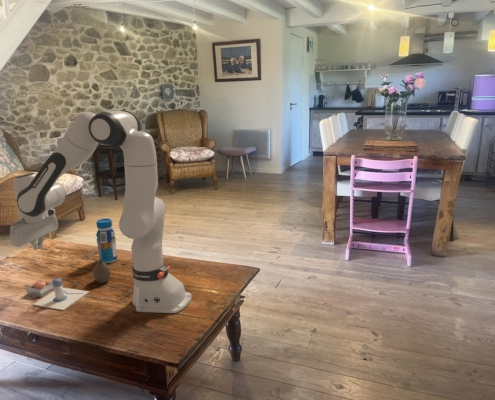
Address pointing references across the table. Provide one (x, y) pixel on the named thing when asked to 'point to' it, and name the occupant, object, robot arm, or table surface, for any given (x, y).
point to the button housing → (40, 290)
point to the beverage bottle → (106, 241)
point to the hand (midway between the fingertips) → (38, 248)
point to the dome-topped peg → (58, 289)
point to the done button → (39, 284)
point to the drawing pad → (69, 299)
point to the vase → (101, 272)
